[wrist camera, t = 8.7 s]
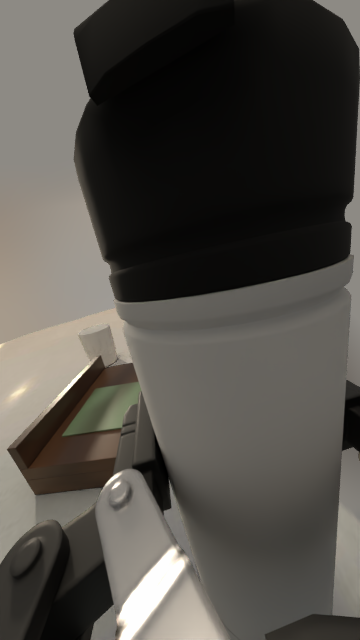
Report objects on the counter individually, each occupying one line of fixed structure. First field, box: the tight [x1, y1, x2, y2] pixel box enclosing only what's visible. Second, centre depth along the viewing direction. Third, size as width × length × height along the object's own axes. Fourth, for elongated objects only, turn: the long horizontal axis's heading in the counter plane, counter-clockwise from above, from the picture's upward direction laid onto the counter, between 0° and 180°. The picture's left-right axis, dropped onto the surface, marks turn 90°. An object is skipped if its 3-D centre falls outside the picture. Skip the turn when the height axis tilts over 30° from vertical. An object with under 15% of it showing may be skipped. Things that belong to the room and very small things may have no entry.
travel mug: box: [74, 0, 360, 640], centre depth 7 cm, size 6×7×20 cm
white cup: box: [78, 323, 117, 367], centre depth 49 cm, size 8×8×10 cm
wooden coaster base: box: [7, 355, 142, 495], centre depth 29 cm, size 12×20×7 cm, turn 179°
